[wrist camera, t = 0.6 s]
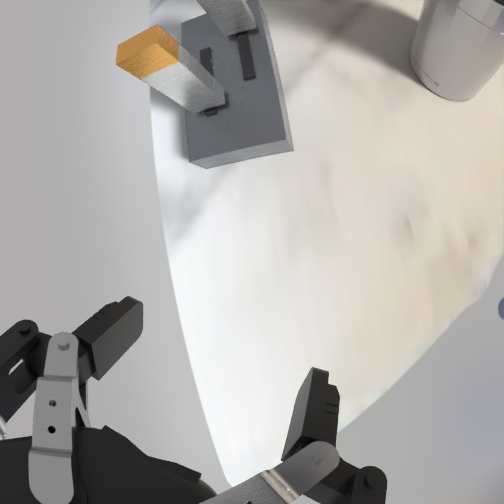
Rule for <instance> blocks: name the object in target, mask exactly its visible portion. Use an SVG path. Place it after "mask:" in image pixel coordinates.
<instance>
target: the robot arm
mask: <svg viewBox="0 0 504 504" xmlns="http://www.w3.org/2000/svg"><path fill="white" fill-rule="evenodd" d="M410 62H411V65H412V68H413V70H414V72H415V74H416V75H417V77H418V78H419V79H420V81H421V82H422V83H423V84H424V85H425V86H426V87H427V88H429V89H430V90H431V91H432V92H434V93H435V94H437V95H439V96H441V97H443V98H445V99H448V100H452V101H467V100H470V99H471V98H473V97H474V96H475V95H476V94H477V93H478V92H479V90H480V89H481V88H482V87H483V86H484V85H485V84H486V83H487V82H488V80H489V79H490V78H491V77H492V76H493V75H494V74H495V72H496V71H497V70H498V69H499V68H500V67H501V65H502V64H503V63H504V0H424V3H423V7H422V11H421V15H420V19H419V23H418V26H417V30H416V33H415V37H414V40H413V44H412V47H411V51H410ZM142 329H143V303H142V302H140V301H138V300H136V299H134V298H132V297H130V296H127V297H125V298H124V299H123V300H121V301H120V302H119V303H118V302H113V303H110V304H107V305H105V306H104V307H103V308H102V309H100V310H99V312H97V313H95V314H94V315H93V317H90V318H89V319H88V320H87V321H85V322H84V323H83V324H82V325H81V326H79V327H78V328H77V329H76V330H75V331H73V332H72V333H68V332H61V333H57V334H55V335H54V336H50V335H47V334H44V333H41V332H39V330H38V327H37V324H36V323H35V322H33V321H31V320H22V321H19V322H17V323H16V324H15V325H13V326H12V327H11V328H10V329H8V330H7V331H6V332H5V333H4V334H3V335H1V336H0V504H289V503H291V502H292V501H294V500H295V499H296V498H298V497H299V496H301V495H302V494H303V495H305V496H307V497H309V498H311V499H313V500H315V501H316V502H318V503H321V504H385V499H386V490H387V478H386V475H385V474H384V473H383V471H382V470H380V469H379V468H377V467H374V466H366V467H363V468H361V469H359V468H357V467H355V466H353V465H351V464H349V463H347V462H345V461H344V460H343V459H342V458H341V457H340V456H339V453H338V451H337V449H336V435H337V425H338V414H339V401H340V395H339V392H338V390H337V387H336V386H334V385H330V384H328V377H329V372H328V371H325V370H321V369H318V368H314V367H312V368H311V369H310V371H309V373H308V375H307V377H306V379H305V380H304V382H303V384H302V386H301V388H300V390H299V392H298V395H297V398H296V401H295V405H294V410H293V414H292V418H291V422H290V427H289V431H288V435H287V439H286V443H285V446H284V450H283V454H282V458H281V461H283V462H282V463H281V464H279V465H277V466H276V467H274V468H272V469H271V470H265V471H263V472H261V473H259V474H257V475H255V476H254V477H252V478H250V479H248V480H246V481H245V482H243V483H241V484H239V485H237V486H235V487H233V488H231V489H229V490H227V491H225V492H223V493H221V494H219V495H217V494H216V492H215V491H214V490H213V489H212V488H211V487H210V486H209V485H207V484H206V483H205V482H204V481H202V480H201V479H200V478H201V473H199V472H196V471H194V470H191V469H189V468H187V467H184V466H182V465H179V464H177V463H174V462H170V461H166V460H161V459H157V458H153V457H149V456H147V455H146V454H144V453H143V452H142V451H141V450H140V449H138V448H137V447H136V446H135V445H134V444H133V443H132V442H130V440H128V439H127V438H126V437H124V436H122V435H121V434H119V433H117V432H116V431H114V430H112V429H111V428H109V427H108V426H106V425H105V426H104V427H103V428H102V430H101V429H96V428H91V425H90V420H89V413H88V379H89V378H90V377H91V376H92V377H94V378H95V379H97V380H98V381H99V380H100V379H101V378H102V377H103V376H104V375H105V374H106V372H107V371H108V370H109V369H110V368H111V367H112V366H113V365H114V364H115V363H116V362H117V361H118V360H119V359H120V357H121V356H122V355H123V354H124V353H125V352H126V351H127V350H128V349H129V348H130V347H131V346H132V345H133V344H134V343H135V342H136V340H137V339H138V338H139V337H140V335H141V333H142ZM21 359H22V360H23V362H22V363H21V364H20V365H19V366H18V367H17V368H16V369H15V370H14V371H13V372H12V373H11V374H10V375H9V372H10V369H11V368H12V367H14V366H15V365H16V364H17V363H18V362H19V361H20V360H21ZM35 390H36V396H35V405H34V418H33V435H32V436H28V437H22V438H13V439H5V437H6V433H5V431H6V423H7V422H8V420H9V419H10V418H11V417H12V416H13V415H14V413H15V412H16V411H17V410H18V409H19V408H20V407H21V405H22V404H23V403H24V402H25V401H26V400H27V399H28V398H29V397H30V395H31V394H32V393H33V392H34V391H35ZM4 439H5V440H4Z"/></svg>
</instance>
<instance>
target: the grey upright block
mask: <svg viewBox="0 0 504 504" xmlns="http://www.w3.org/2000/svg"><path fill="white" fill-rule="evenodd" d="M197 1H198V3H199V4H200V5H201V6H202V7H203V9H204V10H205V11H206V12H207V14H208V15H209V16H210V17H211V19H212V20H213V21H214V23H215V24H216V25H217V26H218V28H219V29H220V30H221V32H222V33H223V34H224V36H225V37H226V36H229V35H233V34H236V33H239V32H243V31H246V30H250V29H254V28H257V27H256V23H255V18H254V15H253V13H252V12H251V10H250V8H249V6H248V4H247V3H246V1H245V0H197Z"/></svg>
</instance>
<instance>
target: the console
mask: <svg viewBox="0 0 504 504" xmlns="http://www.w3.org/2000/svg"><path fill="white" fill-rule="evenodd" d="M246 3H247V4H248V6H249V8H250V10H251V12H252V13H253V15H254V18H255V23H256V27H257V28H254V29H250V30H246V31H243V32H239V33H236V34H233V35H229V36H226V37H225V36H224V34H223V33H222V32H221V30H220V29H219V28H218V26H217V25H216V24H215V23H214V21H213V20H212V19H211V17H210V16H209V15H208V14H204V15H201V16H199V17H196V18H194V19H191V20H189V21H186V22H184V23H182V47H183V48H184V49H185V50H186V51H187V52H188V53H189V54H191V55H192V56H193V57H194V58H195V59H196V60H197V61H198V62H199V63H200V64H201V65H202V66H203V67H204V68H205V69H206V70H207V71H208V72H209V73H210V74H211V75H212V76H213V77H214V78H215V79H216V80H217V81H218V82H219V83H220V84H221V85H222V86H223V88H224V96H225V104H222V105H219V106H216V107H212V108H209V109H206V110H203V111H199V112H196V113H192V112H190V111H189V110H187V109H186V108H185V114H186V128H187V141H188V152H189V162H190V163H193V164H195V165H198V166H200V167H203V168H205V169H209V168H213V167H217V166H221V165H226V164H230V163H235V162H239V161H244V160H248V159H253V158H258V157H263V156H268V155H273V154H279V153H284V152H290V151H294V148H293V142H292V136H291V131H290V125H289V120H288V115H287V109H286V104H285V99H284V94H283V89H282V85H281V80H280V75H279V70H278V66H277V61H276V57H275V52H274V48H273V44H272V40H271V35H270V31H269V27H268V23H267V19H266V16H265V14H264V12H263V10H262V8H261V5H260V3H259V2H258V0H247V1H246Z"/></svg>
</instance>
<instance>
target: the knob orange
mask: <svg viewBox="0 0 504 504" xmlns="http://www.w3.org/2000/svg"><path fill="white" fill-rule="evenodd" d="M116 65H117V66H119V67H120V68H122V69H124V70H126V71H127V72H129V73H131V74H132V75H134V76H136V77H137V78H139V79H140V80H142V81H144V82H146V83H147V84H149V85H150V86H152V87H153V88H155V89H156V90H158V91H160V92H161V93H163V94H164V95H166V96H167V97H169V98H170V99H172V100H174V101H175V102H177V103H178V104H180V105H181V106H183V107H184V108H186V109H187V110H189V111H190V112H192V113H196V112H199V111H203V110H206V109H209V108H212V107H216V106H219V105H222V104H225V96H224V88H223V86H222V85H221V84H220V83H219V82H218V81H217V80H216V79H215V78H214V77H213V76H212V75H211V74H210V73H209V72H208V71H207V70H206V69H205V68H204V67H203V66H202V65H201V64H200V63H199V62H198V61H197V60H196V59H195V58H194V57H193V56H192V55H191V54H189V53H188V52H187V51H186V50H185V49H184V48H183V47H182V46H181V45H180V44H179V43H178V42H177V41H176V40H174V39H173V38H172V37H171V36H170V35H169V34H168V33H167V32H166V31H165V30H163V29H162V28H161V27H160V26H159V25H158V24H157V25H155V26H153V27H151V28H149V29H147V30H145V31H143V32H141V33H139V34H138V35H136V36H134V37H132V38H130V39H128V40H127V41H125V42H123V43H121V44H120V45H118V49H117V57H116Z"/></svg>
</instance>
